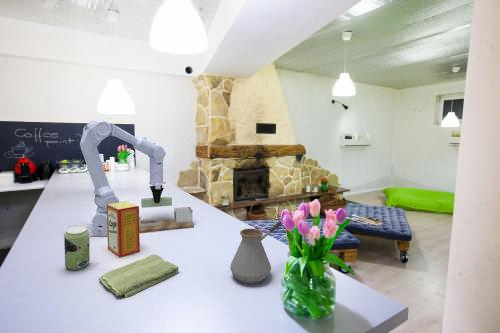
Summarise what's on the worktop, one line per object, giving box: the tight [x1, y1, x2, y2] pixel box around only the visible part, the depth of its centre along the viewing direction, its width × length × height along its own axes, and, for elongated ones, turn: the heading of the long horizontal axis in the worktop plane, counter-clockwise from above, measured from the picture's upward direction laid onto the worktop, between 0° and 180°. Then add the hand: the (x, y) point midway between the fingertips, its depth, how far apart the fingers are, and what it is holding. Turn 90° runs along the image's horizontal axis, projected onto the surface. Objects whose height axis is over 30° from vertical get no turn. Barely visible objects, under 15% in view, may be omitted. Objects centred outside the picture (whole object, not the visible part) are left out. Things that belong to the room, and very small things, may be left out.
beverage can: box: [63, 225, 91, 271], centre depth 77 cm, size 6×7×12 cm
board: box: [139, 218, 195, 234], centre depth 116 cm, size 22×12×1 cm, turn 113°
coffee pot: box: [229, 220, 283, 285], centre depth 77 cm, size 21×12×15 cm, turn 130°
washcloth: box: [98, 253, 179, 299], centre depth 73 cm, size 13×18×3 cm
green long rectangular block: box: [140, 196, 173, 209], centre depth 122 cm, size 13×3×4 cm, turn 114°
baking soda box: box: [107, 200, 141, 259], centre depth 89 cm, size 10×6×16 cm
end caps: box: [139, 206, 194, 228], centre depth 116 cm, size 22×6×6 cm, turn 113°
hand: (156, 202), depth 122 cm, fingers closed on green long rectangular block, 3 cm apart
